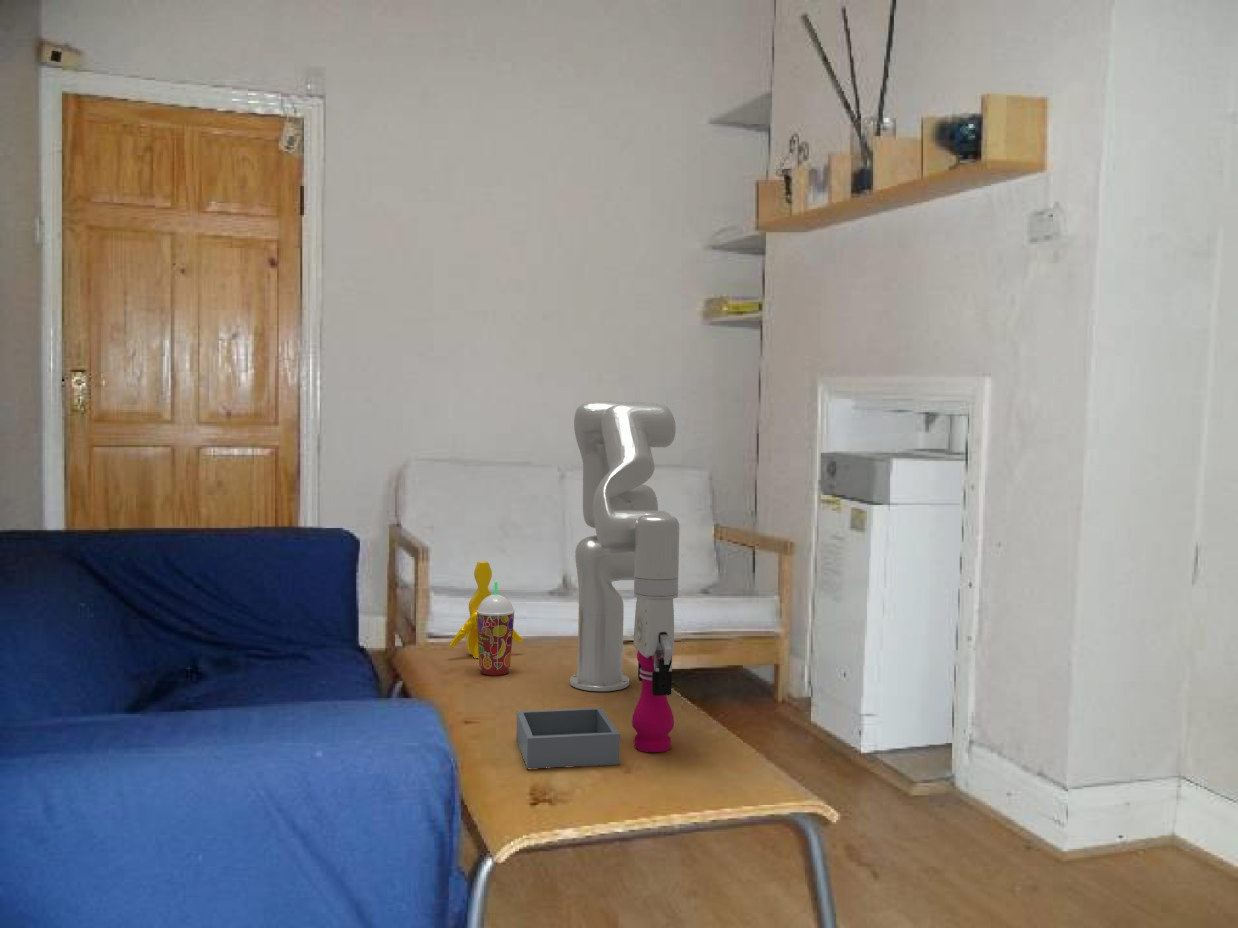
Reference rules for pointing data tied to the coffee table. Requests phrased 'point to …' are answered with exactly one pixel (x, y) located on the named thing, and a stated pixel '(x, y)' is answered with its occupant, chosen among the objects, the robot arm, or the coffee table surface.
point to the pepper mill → (651, 713)
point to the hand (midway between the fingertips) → (654, 687)
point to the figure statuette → (470, 627)
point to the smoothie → (495, 633)
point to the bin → (567, 738)
